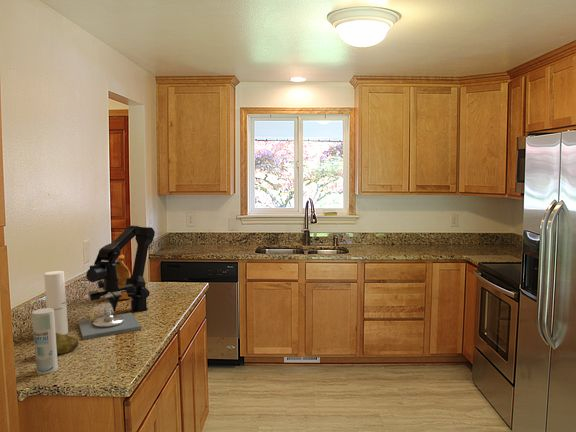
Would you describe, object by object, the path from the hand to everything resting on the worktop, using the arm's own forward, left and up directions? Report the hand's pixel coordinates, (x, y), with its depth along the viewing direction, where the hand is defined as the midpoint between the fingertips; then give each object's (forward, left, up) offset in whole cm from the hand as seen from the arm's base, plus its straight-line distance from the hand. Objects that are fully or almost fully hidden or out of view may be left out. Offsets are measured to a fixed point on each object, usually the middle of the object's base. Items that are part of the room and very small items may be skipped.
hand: (114, 311), depth 209 cm
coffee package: (-10, -38, -4) cm, 39 cm away
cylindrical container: (+22, +5, -4) cm, 23 cm away
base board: (+3, +8, -4) cm, 10 cm away
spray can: (+27, +44, -4) cm, 52 cm away
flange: (+4, +7, -2) cm, 8 cm away
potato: (+23, +29, -4) cm, 38 cm away
